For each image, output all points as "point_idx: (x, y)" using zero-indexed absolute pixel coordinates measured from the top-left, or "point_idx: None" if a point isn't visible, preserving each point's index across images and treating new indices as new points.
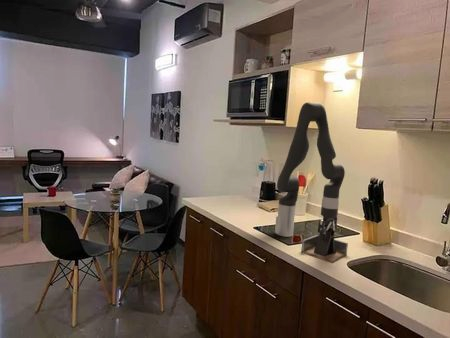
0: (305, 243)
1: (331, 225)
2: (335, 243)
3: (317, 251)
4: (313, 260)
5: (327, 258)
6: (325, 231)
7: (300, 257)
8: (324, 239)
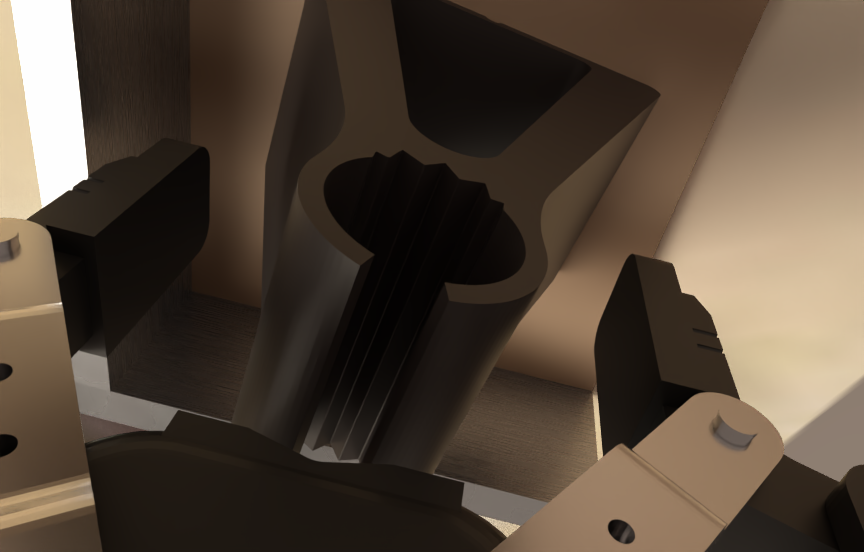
0: (556, 461)
1: (139, 469)
2: (116, 40)
3: (576, 236)
4: (841, 199)
5: (739, 11)
6: (707, 461)
7: (800, 366)
8: (653, 284)
